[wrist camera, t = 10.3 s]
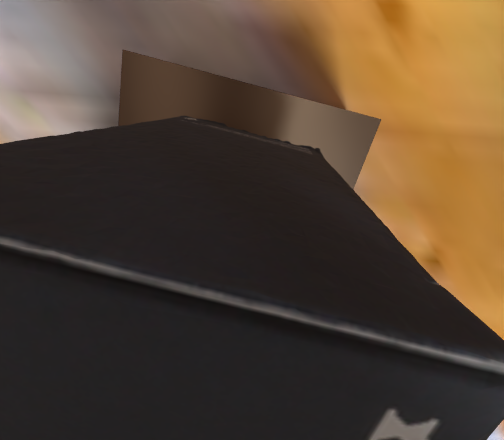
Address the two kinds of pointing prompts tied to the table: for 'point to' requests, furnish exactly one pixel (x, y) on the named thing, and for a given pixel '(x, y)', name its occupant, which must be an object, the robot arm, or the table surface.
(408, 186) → the table surface
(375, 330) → the small box
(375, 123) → the walnut block
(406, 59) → the table surface
